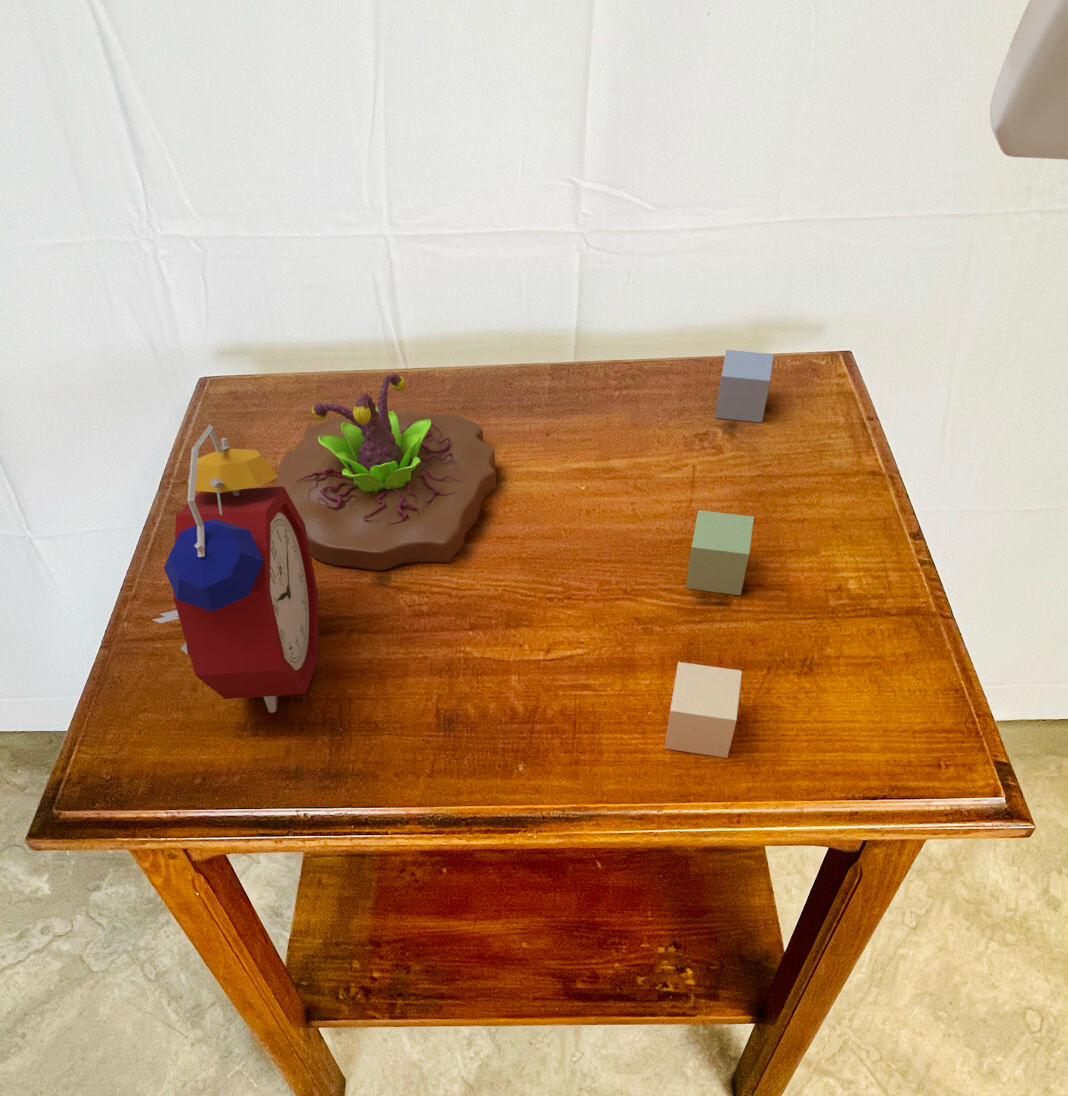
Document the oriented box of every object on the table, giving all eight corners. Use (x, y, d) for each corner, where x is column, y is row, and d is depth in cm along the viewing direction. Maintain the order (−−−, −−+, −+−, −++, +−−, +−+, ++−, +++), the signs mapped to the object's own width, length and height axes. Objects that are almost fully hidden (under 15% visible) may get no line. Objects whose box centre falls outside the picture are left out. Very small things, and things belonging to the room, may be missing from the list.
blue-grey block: (719, 391, 90) (726, 349, 86) (765, 396, 89) (773, 353, 86) (715, 418, 87) (721, 375, 84) (761, 423, 87) (770, 380, 83)
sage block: (692, 551, 77) (698, 509, 73) (745, 558, 76) (754, 516, 72) (685, 588, 74) (691, 546, 70) (740, 595, 73) (749, 554, 70)
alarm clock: (312, 735, 67) (228, 523, 50) (195, 742, 67) (74, 532, 50) (328, 593, 75) (261, 373, 59) (225, 599, 75) (129, 381, 59)
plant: (249, 565, 78) (206, 454, 68) (308, 428, 89) (277, 317, 80) (478, 577, 76) (465, 466, 67) (508, 436, 87) (500, 324, 78)
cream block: (672, 700, 67) (678, 661, 64) (732, 709, 67) (742, 670, 63) (664, 748, 65) (670, 710, 61) (727, 758, 64) (736, 720, 60)
